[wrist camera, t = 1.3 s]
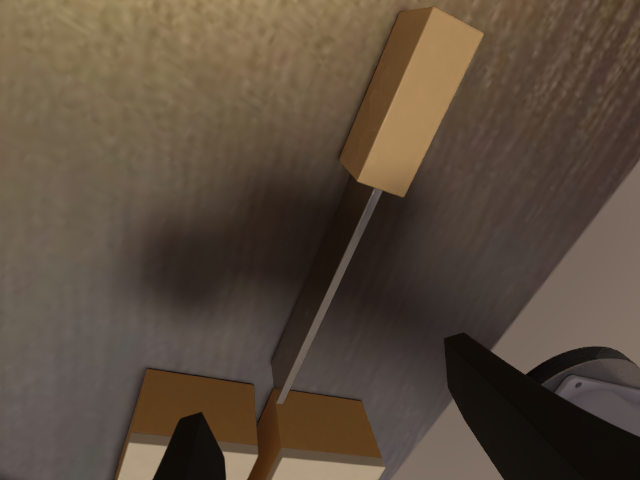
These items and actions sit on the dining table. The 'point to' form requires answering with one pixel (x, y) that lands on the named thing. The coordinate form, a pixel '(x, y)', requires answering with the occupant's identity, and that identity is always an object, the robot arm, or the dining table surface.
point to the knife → (380, 157)
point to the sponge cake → (253, 431)
